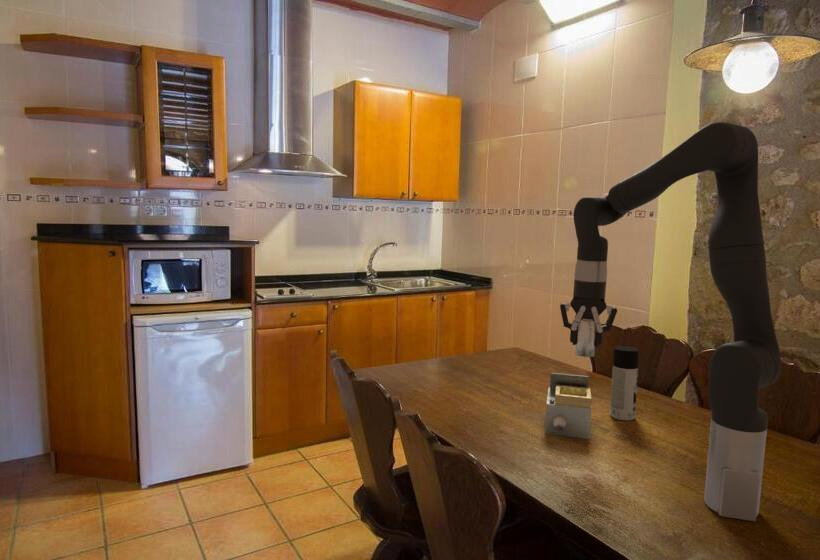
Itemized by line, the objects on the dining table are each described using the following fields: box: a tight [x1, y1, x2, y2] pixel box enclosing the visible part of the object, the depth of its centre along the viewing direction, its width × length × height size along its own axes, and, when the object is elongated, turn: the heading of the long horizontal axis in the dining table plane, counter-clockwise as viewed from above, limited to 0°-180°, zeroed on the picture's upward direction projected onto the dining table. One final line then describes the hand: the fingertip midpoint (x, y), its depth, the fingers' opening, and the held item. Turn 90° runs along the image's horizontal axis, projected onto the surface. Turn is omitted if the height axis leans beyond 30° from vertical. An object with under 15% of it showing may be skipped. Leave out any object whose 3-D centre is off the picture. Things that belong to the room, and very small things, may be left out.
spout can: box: [574, 318, 597, 358], centre depth 133 cm, size 5×5×11 cm
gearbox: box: [544, 372, 592, 440], centre depth 141 cm, size 17×11×13 cm, turn 163°
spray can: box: [609, 345, 640, 422], centre depth 150 cm, size 7×7×20 cm
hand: (585, 345), depth 133 cm, fingers closed on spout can, 4 cm apart
